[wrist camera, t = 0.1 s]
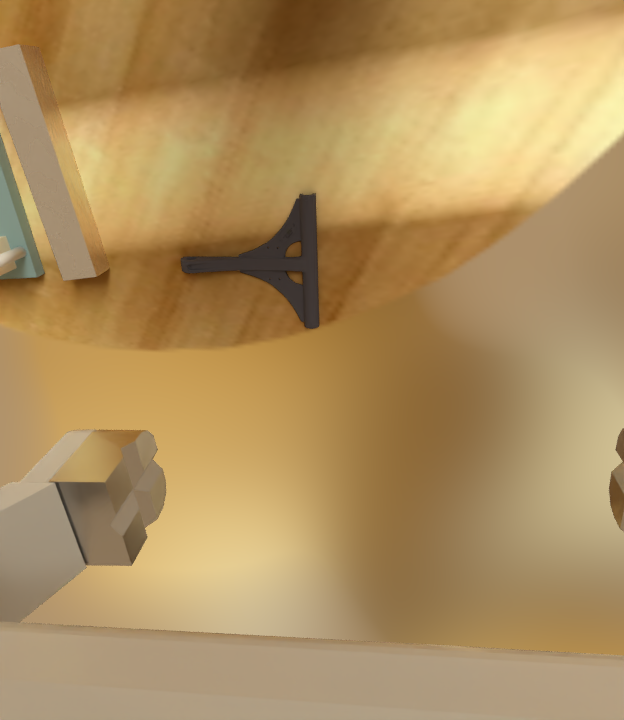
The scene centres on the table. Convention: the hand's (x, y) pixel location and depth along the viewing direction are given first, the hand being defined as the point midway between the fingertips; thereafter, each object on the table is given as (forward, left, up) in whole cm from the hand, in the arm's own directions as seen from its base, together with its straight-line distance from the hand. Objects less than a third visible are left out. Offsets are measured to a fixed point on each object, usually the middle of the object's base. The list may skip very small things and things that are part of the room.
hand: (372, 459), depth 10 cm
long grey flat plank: (-2, -34, -48) cm, 59 cm away
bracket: (+9, -15, -49) cm, 52 cm away
